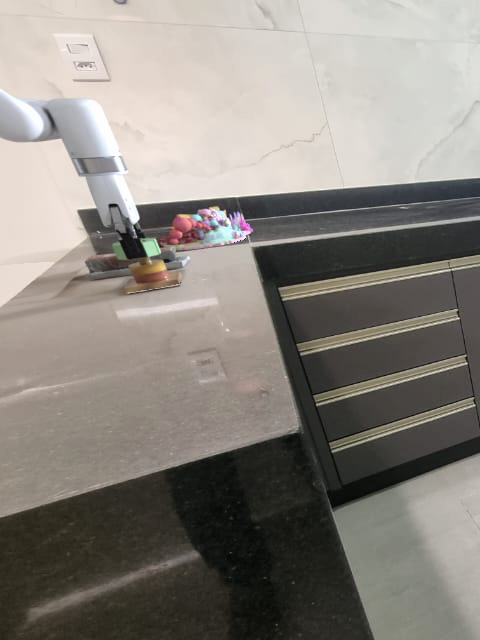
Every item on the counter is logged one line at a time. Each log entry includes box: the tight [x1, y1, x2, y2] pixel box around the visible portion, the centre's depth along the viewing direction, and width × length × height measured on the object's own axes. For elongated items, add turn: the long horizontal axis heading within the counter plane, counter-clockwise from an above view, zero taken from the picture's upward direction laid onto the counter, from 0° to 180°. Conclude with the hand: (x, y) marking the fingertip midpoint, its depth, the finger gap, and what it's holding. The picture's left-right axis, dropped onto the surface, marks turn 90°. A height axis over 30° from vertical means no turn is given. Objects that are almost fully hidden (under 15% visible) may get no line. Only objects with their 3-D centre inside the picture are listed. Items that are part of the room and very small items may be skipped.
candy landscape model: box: [156, 205, 254, 252], centre depth 158 cm, size 25×24×9 cm
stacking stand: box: [123, 240, 183, 294], centre depth 114 cm, size 9×9×10 cm
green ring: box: [111, 237, 161, 260], centre depth 113 cm, size 7×7×3 cm
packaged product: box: [84, 247, 191, 281], centre depth 129 cm, size 18×5×10 cm
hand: (139, 254), depth 113 cm, fingers closed on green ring, 7 cm apart
